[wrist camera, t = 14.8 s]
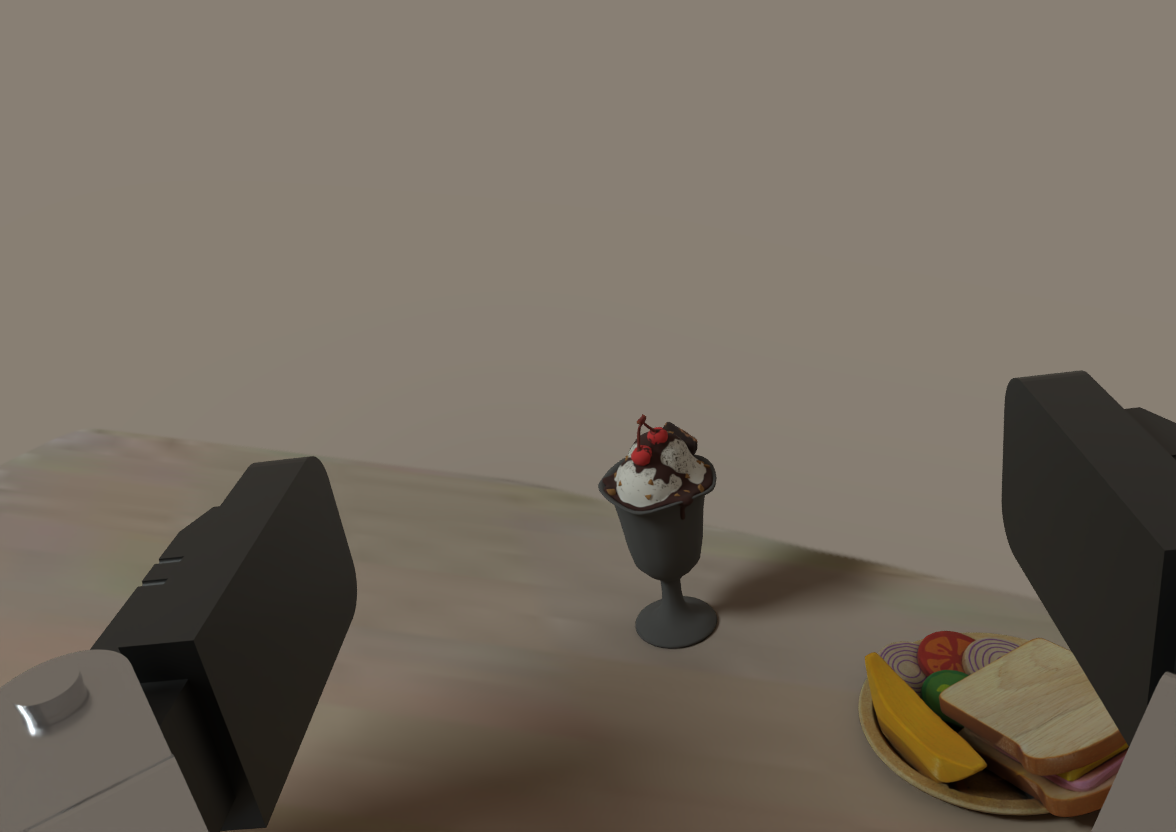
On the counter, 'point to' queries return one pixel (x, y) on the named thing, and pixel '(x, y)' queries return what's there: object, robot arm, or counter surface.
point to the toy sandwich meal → (991, 723)
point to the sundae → (664, 527)
